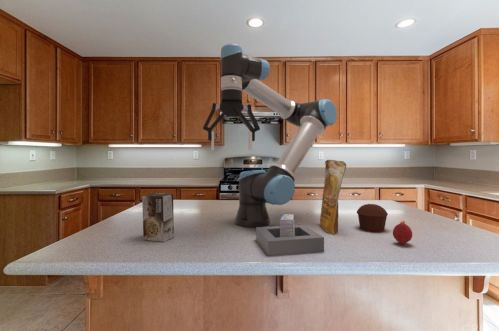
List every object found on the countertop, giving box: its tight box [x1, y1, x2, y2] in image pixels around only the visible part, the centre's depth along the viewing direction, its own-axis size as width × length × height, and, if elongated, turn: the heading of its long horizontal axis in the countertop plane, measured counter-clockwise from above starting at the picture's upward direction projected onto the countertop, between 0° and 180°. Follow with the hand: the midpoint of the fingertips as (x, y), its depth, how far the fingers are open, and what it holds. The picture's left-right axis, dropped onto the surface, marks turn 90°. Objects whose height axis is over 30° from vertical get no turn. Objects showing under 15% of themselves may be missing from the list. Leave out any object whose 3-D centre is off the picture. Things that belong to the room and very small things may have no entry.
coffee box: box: [141, 192, 175, 243], centre depth 100 cm, size 9×6×16 cm
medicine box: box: [279, 213, 296, 237], centre depth 92 cm, size 8×4×9 cm, turn 169°
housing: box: [255, 224, 325, 257], centre depth 92 cm, size 16×18×4 cm
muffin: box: [356, 203, 389, 233], centre depth 112 cm, size 12×11×10 cm
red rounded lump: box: [392, 220, 413, 245], centre depth 93 cm, size 6×6×8 cm
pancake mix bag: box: [319, 159, 347, 235], centre depth 112 cm, size 7×19×28 cm, turn 179°
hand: (231, 150), depth 99 cm, fingers open, 13 cm apart
